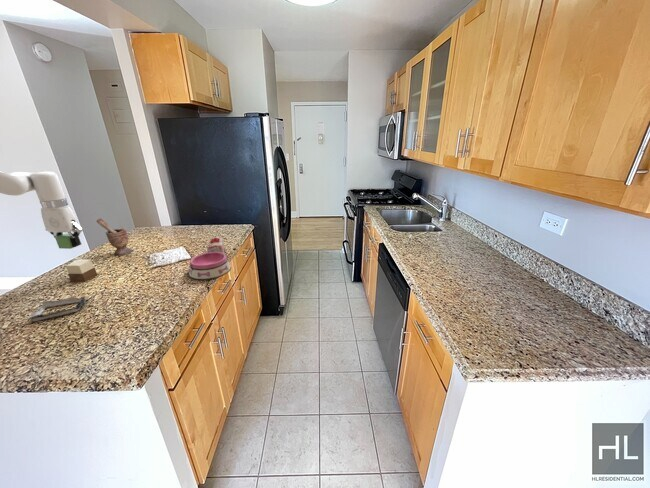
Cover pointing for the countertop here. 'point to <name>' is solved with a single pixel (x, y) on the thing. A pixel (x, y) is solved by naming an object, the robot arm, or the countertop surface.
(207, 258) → the dog bowl
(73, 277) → the walnut block
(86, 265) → the cream block
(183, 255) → the white flat packet
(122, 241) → the mortar and pestle
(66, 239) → the green block
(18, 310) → the countertop surface
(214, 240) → the food item
